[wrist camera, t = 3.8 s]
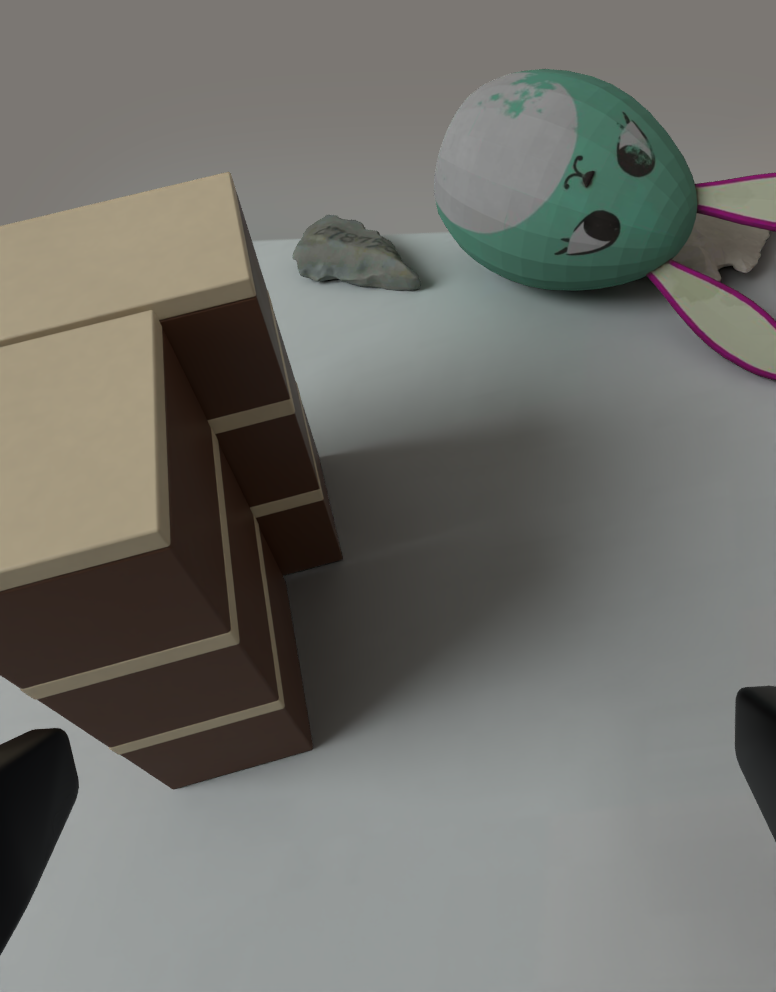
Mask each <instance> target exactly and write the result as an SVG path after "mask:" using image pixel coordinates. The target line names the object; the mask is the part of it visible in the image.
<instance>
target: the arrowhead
mask: <svg viewBox="0 0 776 992" xmlns="http://www.w3.org/2000/svg"><path fill="white" fill-rule="evenodd" d="M769 232H770V231H769V230H764V229H760V228H755V227H750V226H746V225H741V224H737V223H734V222H730V221H726V220H722V219H719V218H715V217H711V216H707V215H703V214H698V213H697V214H696V220H695V223H694V226H693V229H692V232H691V234H690V236H689V238H688V240H687V242H686V243H685V245H684V246H683V247H682V249H681V250H680V251H679V253H678V254H677V255H676V256H675V257H674V258H673V259H672V260H674V261H676V262H678V263H680V264H682V265H684V266H686V267H689V268H691V269H693V270H695V271H698V272H700V273H702V274H704V275H707V276H709V277H711V278H713V279H715V280H717V281H719V282H721V276H720V273H719V272H718V269H719V268H722V267H724V266H733V267H734V269H735V270H737V271H739V272H742V273H747V272H749V271H751V269H752V268H753V267H754V266H755V265H756V264H757V263H758V259H759V258H760V257H761V254H760V250H761V249H762V247H763V246H764V245H765V240H767V239H768V238H769V237H770V236H769Z"/></svg>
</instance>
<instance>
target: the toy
mask: <svg viewBox="0 0 776 992" xmlns="http://www.w3.org/2000/svg"><path fill="white" fill-rule="evenodd" d="M434 183H435V184H434V195H435V200H436V205H437V209H438V214H439V215H440V217H441V219H442V220H443V222H444V224H445V226H446V228H447V229H448V230H449V232H450V233H451V235H452V236H453V238H454V239H455V240H456V242H457V243H458V244H459V246H460V247H461V248H462V249H463V250H464V251H465V252H466V253H467V254H468V255H470V256H471V257H472V258H473V259H474V260H475V261H477V262H478V263H480V264H481V265H483V266H484V267H486V268H487V269H489V270H491V271H493V272H495V273H497V274H499V275H501V276H503V277H505V278H507V279H509V280H511V281H514V282H517V283H520V284H523V285H526V286H531V287H536V288H542V289H548V290H573V291H578V290H590V289H600V288H605V287H611V286H616V285H621V284H625V283H628V282H631V281H634V280H637V279H640V278H643V277H645V276H647V277H648V278H649V279H650V280H651V281H652V283H653V284H654V285H655V286H656V287H657V288H658V289H659V291H660V292H661V293H662V294H663V296H664V297H665V298H666V299H667V301H668V302H669V303H670V305H671V306H672V307H673V308H674V310H675V311H676V312H677V313H678V315H679V316H680V317H681V318H682V319H683V320H684V321H685V322H686V324H687V325H688V326H689V327H690V328H691V329H692V330H693V331H694V333H695V334H696V335H697V336H698V337H700V338H701V339H702V340H703V341H704V342H705V343H706V344H707V345H708V346H709V347H711V348H712V349H713V350H715V351H716V352H717V353H719V354H720V355H721V356H723V357H724V358H726V359H728V360H729V361H731V362H733V363H735V364H736V365H738V366H740V367H742V368H743V369H745V370H747V371H749V372H752V373H754V374H756V375H759V376H762V377H765V378H768V379H773V380H776V321H775V320H774V319H773V318H772V317H771V316H770V315H769V314H768V313H767V312H766V311H765V310H763V309H762V308H761V307H760V306H758V305H757V304H756V303H755V302H754V301H752V300H751V299H749V298H747V297H746V296H744V295H743V294H741V293H740V292H738V291H736V290H734V289H732V288H731V287H729V286H727V285H725V284H723V283H721V282H719V281H717V280H715V279H713V278H711V277H709V276H707V275H704V274H702V273H700V272H698V271H695V270H693V269H691V268H689V267H686V266H684V265H682V264H680V263H678V262H676V261H674V260H672V259H673V258H674V257H675V256H676V255H677V254H678V253H679V251H680V250H681V249H682V247H683V246H684V245H685V243H686V242H687V240H688V238H689V236H690V234H691V232H692V229H693V226H694V223H695V220H696V214H697V213H698V214H703V215H707V216H711V217H715V218H719V219H722V220H726V221H730V222H734V223H737V224H741V225H746V226H750V227H755V228H760V229H764V230H769V231H775V232H776V173H768V174H760V175H753V176H746V177H740V178H734V179H728V180H722V181H715V182H707V183H699V184H694V180H693V176H692V174H691V172H690V169H689V167H688V165H687V163H686V161H685V159H684V157H683V155H682V154H681V152H680V151H679V149H678V148H677V146H676V145H675V143H674V142H673V140H672V139H671V137H670V136H669V135H668V133H667V132H666V131H665V130H664V128H663V127H662V126H661V125H660V124H659V123H658V122H657V120H656V119H655V118H654V117H653V116H652V114H651V113H650V112H649V111H648V110H646V109H645V108H644V107H643V106H642V105H641V104H640V103H639V102H637V101H636V100H635V99H634V98H633V97H632V96H630V95H628V94H627V93H625V92H624V91H622V90H620V89H619V88H617V87H615V86H614V85H612V84H610V83H607V82H605V81H602V80H600V79H597V78H595V77H592V76H588V75H584V74H579V73H575V72H571V71H563V70H550V69H539V70H529V71H521V72H515V73H511V74H508V75H505V76H502V77H499V78H497V79H495V80H493V81H490V82H488V83H486V84H484V85H482V86H481V87H480V88H478V89H477V90H476V91H475V92H473V93H472V94H471V95H470V96H469V97H468V98H467V99H466V100H465V101H464V102H463V104H462V105H461V107H460V108H459V109H458V111H457V112H456V114H455V116H454V117H453V119H452V121H451V123H450V126H449V128H448V130H447V132H446V134H445V137H444V140H443V143H442V146H441V149H440V152H439V156H438V160H437V166H436V171H435V181H434Z"/></svg>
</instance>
